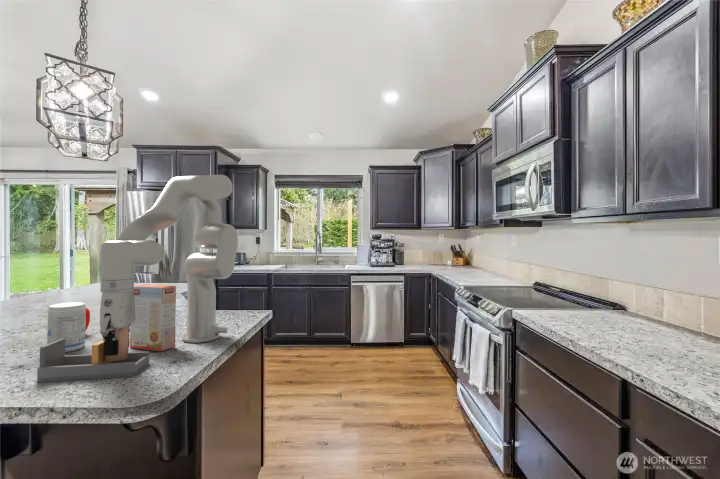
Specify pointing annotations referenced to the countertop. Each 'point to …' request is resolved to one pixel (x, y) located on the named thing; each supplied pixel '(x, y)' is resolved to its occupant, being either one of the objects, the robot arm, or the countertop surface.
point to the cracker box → (154, 317)
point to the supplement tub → (67, 324)
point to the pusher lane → (84, 365)
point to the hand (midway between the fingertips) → (116, 350)
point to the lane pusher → (98, 353)
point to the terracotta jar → (120, 345)
